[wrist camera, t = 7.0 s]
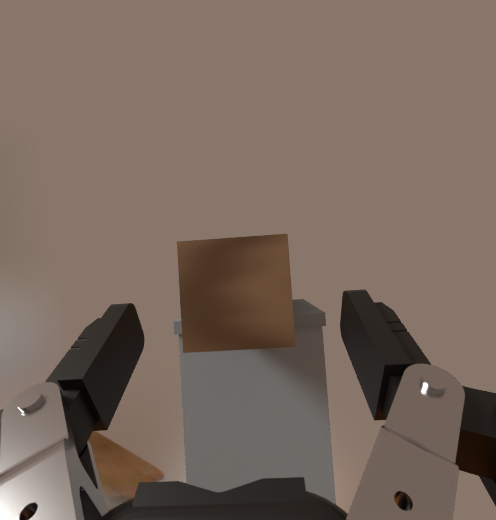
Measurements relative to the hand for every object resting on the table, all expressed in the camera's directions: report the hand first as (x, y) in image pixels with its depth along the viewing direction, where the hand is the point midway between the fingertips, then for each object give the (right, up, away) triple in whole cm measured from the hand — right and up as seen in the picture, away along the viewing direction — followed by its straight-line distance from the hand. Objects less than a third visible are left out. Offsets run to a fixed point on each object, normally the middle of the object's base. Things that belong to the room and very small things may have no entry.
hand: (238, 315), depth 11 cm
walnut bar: (0, -1, +9) cm, 9 cm away
